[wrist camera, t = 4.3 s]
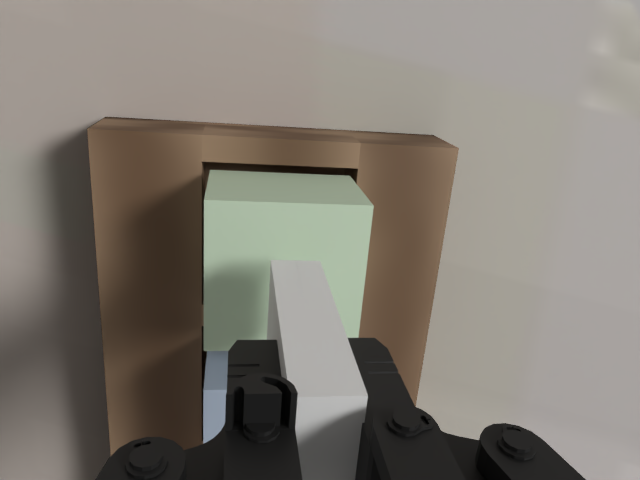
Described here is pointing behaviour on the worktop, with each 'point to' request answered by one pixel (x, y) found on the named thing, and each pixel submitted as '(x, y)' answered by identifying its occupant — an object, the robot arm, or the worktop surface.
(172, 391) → the board
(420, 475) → the robot arm
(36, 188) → the worktop surface
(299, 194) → the sage button
